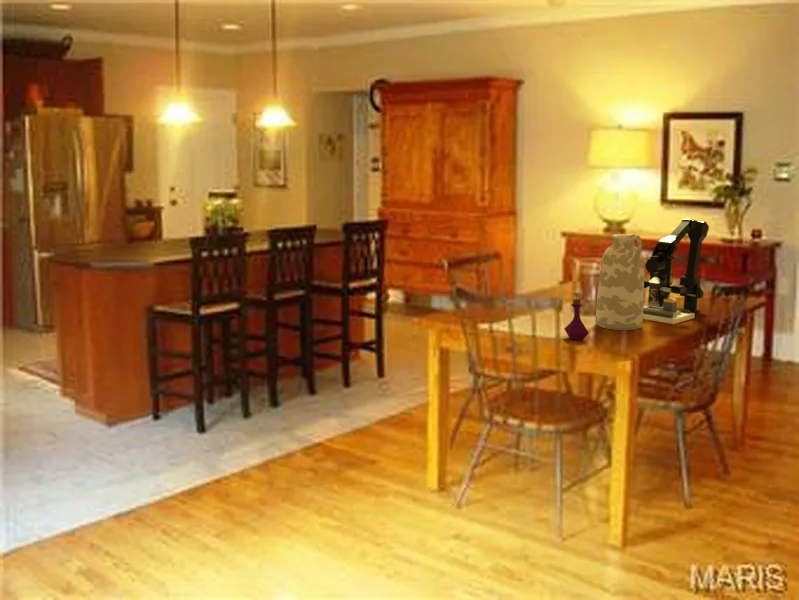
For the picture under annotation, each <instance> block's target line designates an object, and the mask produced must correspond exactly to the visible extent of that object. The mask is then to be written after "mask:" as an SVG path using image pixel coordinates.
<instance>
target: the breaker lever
mask: <svg viewBox="0 0 799 600" xmlns="http://www.w3.org/2000/svg"><path fill="white" fill-rule="evenodd" d="M677 304H678V299H677V298H671V297H670V298H666V299H664V304H663V311H669V312H676V309H677V308H678V305H677Z"/></svg>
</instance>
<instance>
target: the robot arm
mask: <svg viewBox="0 0 799 600" xmlns="http://www.w3.org/2000/svg"><path fill="white" fill-rule="evenodd" d="M709 229H710V228H709V224H708V223H707V221H704V220H695V219H693V218H682V219H681V222H680V223H679V224H678V225H677V226H676V228H675V229H674V230H673V231H672V232H671V233H670V234H669V235H667V236H665V237H662V238H661V239H660V240H658V242H657V243H656V245H655V247H654V249H653V251H652V253H651V255H650V256H649V259H648V260H647V261H646V263H644V268H645V270H646V271H647V272H648V273H653V272H656V273H655V277H654V278H652V279H651V280H650V279H644V289H649V288H650V289H653V290H652V291H654V292H655V293H656V295H657V298H658V301H659V305H660V307H662V306H663V304H664V299H666V298H667V297H668V295H669V294H670V295H671V293H672V294H676V295H679V296H680V297H684V299H683V307H682V308H681V309H686V310H690V313H696V312H699V311H701V309H700V308H698V303H699V299H702V298H704V290H703V289H702V287H701V280H700V278H699V275H698V272H699V265H700V258H701V252H702V244H703V241H704V240H705V239H706V237H708V236H707V235H708V232H709ZM686 236H688V238H689V247H688V254H687V262H686V269H685V273H684V275H682V276H680V278H679V284H674V285H672V277H671V275H672V276H673V275H674V274H673V272H672V273H671V270H672V269H673V268H672V267H673V260H676V257H675V256H674V254H675V253H676V251H677V250H678V245H679V243H680V242H681V241H682V240H683V239H684V237H686ZM670 280H671V282H670ZM670 285H671V286H670Z"/></svg>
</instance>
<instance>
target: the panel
mask: <svg viewBox="0 0 799 600" xmlns="http://www.w3.org/2000/svg"><path fill="white" fill-rule="evenodd" d="M695 313H696V312H690V310H686V309H682V308H678V307H677V309H676V312H669V311H663V306H662V307H660V305H655V304H647V305H644V306H643V320H647V321H653V322H654V321H655V322H658V323H665V324H672V325H675V324H678V323H682V322H685V321H688V320H692V319H695V316H696V315H695Z"/></svg>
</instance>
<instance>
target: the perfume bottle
mask: <svg viewBox="0 0 799 600" xmlns="http://www.w3.org/2000/svg"><path fill="white" fill-rule="evenodd" d="M574 296H575V297H576V298H574V299H573V300H572V302H573V303H571V304H570V305H571V307H573V310H574V311H573V318H572V320H571V321H570V322H569V323H568V324H567V325H566V326H565V327H564V329H563V330H564V331H565V333H566V335H567V337H568V338H569V339H570V340H571V341H583V340H584V339H585V338H586V337H587V336H588V335H589V331H588V329H587V328H586V325H584V322H583V321H582V318H581V315H580V308H581V307H582V306H583V304H582V303H581V301H582V299H581V298H582V296H583V292H575V293H574Z"/></svg>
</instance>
